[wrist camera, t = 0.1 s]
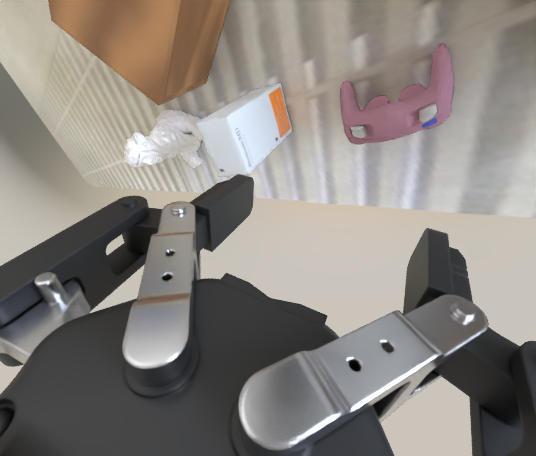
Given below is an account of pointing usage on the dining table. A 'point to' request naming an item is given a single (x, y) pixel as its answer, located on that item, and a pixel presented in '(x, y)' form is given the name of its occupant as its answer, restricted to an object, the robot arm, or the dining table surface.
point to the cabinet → (148, 39)
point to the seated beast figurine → (166, 141)
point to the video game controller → (401, 106)
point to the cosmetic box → (246, 130)
